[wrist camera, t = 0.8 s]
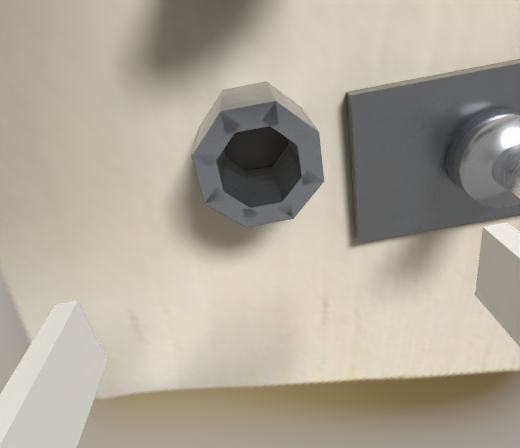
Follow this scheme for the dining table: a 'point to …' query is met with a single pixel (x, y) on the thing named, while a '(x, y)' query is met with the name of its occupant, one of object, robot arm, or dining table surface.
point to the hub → (262, 179)
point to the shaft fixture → (435, 151)
